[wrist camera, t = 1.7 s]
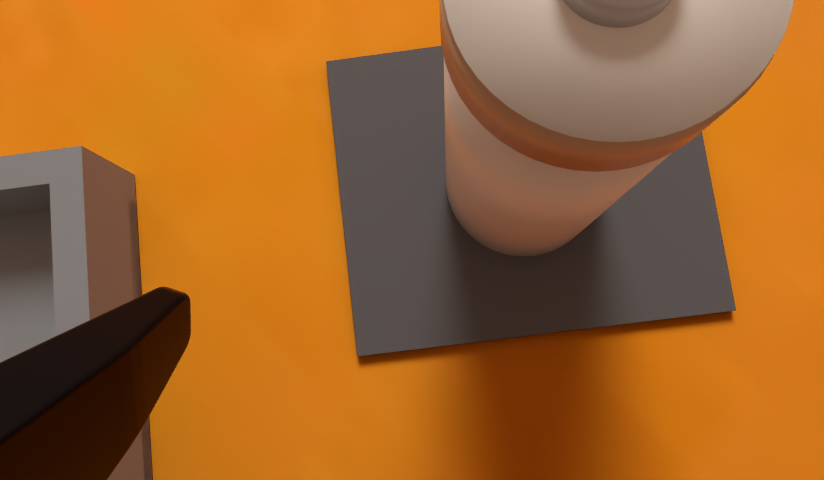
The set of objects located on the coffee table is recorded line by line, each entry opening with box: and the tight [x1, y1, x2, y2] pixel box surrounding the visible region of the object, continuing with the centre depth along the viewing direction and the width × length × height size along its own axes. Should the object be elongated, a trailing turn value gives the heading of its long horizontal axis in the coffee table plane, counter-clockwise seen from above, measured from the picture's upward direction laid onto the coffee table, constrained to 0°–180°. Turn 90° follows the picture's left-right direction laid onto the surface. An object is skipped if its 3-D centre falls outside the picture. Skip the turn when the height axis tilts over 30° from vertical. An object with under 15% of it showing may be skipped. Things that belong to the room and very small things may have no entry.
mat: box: [326, 46, 736, 356], centre depth 23 cm, size 10×12×1 cm
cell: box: [440, 0, 794, 256], centre depth 16 cm, size 5×5×14 cm
